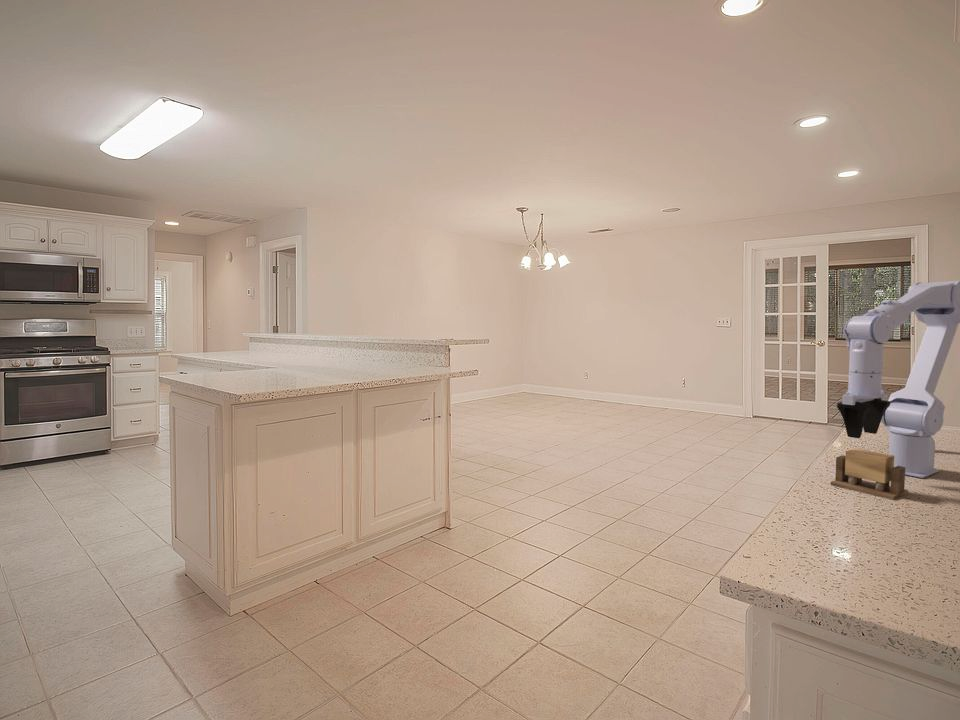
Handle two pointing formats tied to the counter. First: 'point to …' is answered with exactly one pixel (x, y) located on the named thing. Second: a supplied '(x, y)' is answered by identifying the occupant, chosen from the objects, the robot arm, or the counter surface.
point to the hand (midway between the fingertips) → (862, 435)
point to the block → (869, 465)
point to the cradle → (871, 487)
